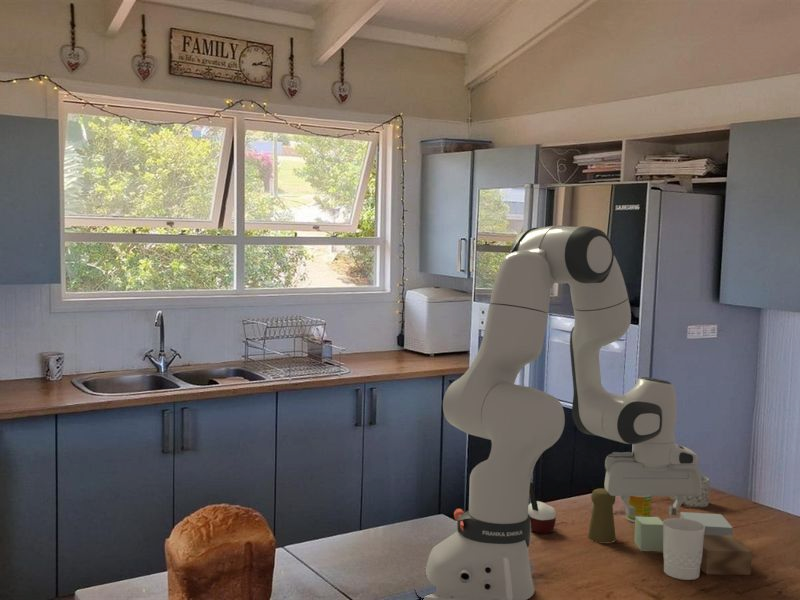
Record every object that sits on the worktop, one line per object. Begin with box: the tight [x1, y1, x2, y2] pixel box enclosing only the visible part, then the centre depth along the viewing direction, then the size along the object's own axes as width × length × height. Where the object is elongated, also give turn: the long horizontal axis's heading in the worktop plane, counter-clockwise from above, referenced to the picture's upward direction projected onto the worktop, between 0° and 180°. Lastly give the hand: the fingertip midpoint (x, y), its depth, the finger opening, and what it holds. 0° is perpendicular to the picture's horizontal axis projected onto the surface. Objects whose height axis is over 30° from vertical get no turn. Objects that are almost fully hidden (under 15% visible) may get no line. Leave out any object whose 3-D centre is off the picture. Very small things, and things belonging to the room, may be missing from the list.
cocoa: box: [528, 481, 557, 535], centre depth 184 cm, size 10×6×12 cm, turn 111°
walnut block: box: [700, 534, 753, 576], centre depth 166 cm, size 9×9×5 cm
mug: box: [669, 474, 711, 508], centre depth 208 cm, size 10×7×7 cm, turn 94°
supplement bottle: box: [626, 496, 652, 523], centre depth 194 cm, size 5×5×10 cm
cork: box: [587, 488, 617, 543], centre depth 181 cm, size 6×6×11 cm
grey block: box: [679, 511, 734, 536], centre depth 181 cm, size 9×9×5 cm
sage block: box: [633, 516, 663, 552], centre depth 176 cm, size 5×5×6 cm
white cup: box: [662, 517, 705, 581], centre depth 162 cm, size 8×8×10 cm
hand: (651, 515), depth 176 cm, fingers open, 8 cm apart
